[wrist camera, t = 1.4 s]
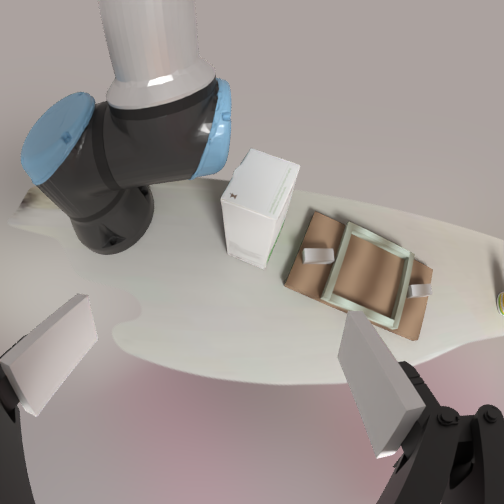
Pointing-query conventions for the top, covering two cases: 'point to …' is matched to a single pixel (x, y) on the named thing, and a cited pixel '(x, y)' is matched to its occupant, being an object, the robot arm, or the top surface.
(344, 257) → the board
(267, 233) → the skincare box
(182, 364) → the top surface
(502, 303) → the supplement bottle
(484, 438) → the robot arm
